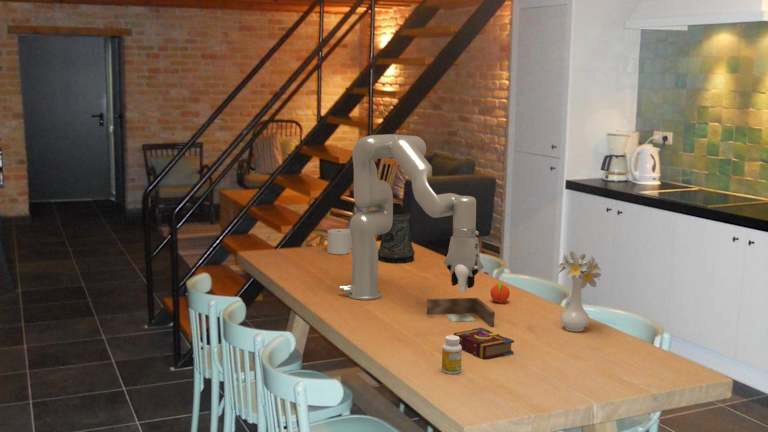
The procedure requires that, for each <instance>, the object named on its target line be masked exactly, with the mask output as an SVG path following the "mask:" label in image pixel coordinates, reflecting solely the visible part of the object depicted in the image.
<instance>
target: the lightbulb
mask: <svg viewBox="0 0 768 432" xmlns="http://www.w3.org/2000/svg"><path fill="white" fill-rule="evenodd" d="M472 272H473V268H472ZM455 273H456V276H457V278H458V284H457V285H458V290H459V292H461V294H462V293H463V294H464V293H465V292H467V290H468V287H467V286H468V276H469V268H467V267H465V266H464V265H461V264H460V265H457V266H455Z"/></svg>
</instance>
